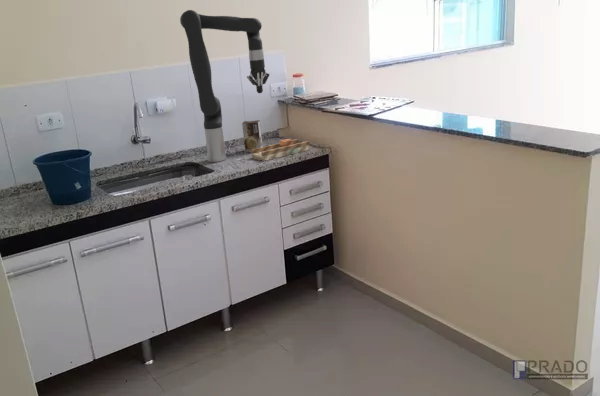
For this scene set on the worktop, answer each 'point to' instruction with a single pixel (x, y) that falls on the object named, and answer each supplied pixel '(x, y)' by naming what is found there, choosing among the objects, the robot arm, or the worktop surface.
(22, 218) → the worktop surface
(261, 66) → the robot arm
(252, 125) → the coffee box
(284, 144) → the block
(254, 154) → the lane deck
